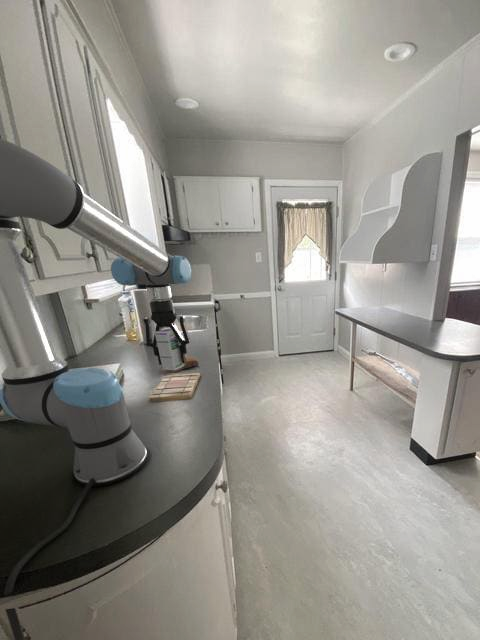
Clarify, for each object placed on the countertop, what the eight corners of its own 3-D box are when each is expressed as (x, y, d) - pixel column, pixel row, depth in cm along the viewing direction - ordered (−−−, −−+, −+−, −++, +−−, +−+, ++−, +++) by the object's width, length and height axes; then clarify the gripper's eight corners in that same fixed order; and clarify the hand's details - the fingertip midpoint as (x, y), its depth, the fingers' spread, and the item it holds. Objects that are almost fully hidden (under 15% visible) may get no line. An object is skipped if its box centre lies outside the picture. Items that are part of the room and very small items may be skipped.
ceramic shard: (149, 358, 135) (177, 354, 148) (151, 372, 136) (179, 367, 149) (170, 358, 127) (198, 354, 140) (172, 373, 129) (199, 368, 141)
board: (190, 398, 107) (190, 394, 106) (150, 401, 106) (149, 397, 105) (200, 376, 127) (199, 372, 127) (165, 378, 126) (165, 375, 125)
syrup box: (175, 370, 110) (167, 331, 105) (162, 369, 112) (154, 330, 106) (185, 365, 115) (178, 328, 109) (172, 364, 117) (164, 327, 111)
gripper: (192, 297, 108) (202, 358, 117) (133, 299, 106) (147, 361, 115) (189, 299, 101) (199, 364, 110) (125, 302, 100) (141, 368, 108)
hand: (172, 362), depth 113 cm, fingers closed on syrup box, 7 cm apart
